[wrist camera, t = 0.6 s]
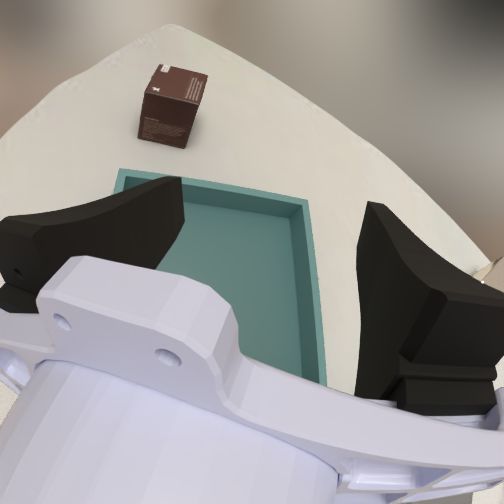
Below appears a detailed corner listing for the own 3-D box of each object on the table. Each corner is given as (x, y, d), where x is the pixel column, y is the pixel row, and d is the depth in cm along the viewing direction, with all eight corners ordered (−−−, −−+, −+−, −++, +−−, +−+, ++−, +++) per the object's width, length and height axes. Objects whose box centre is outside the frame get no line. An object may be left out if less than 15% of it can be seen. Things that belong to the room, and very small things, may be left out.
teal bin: (307, 391, 30) (327, 391, 27) (96, 391, 23) (91, 392, 20) (293, 215, 38) (307, 200, 35) (118, 188, 31) (119, 168, 28)
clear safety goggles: (457, 366, 39) (536, 345, 27) (434, 301, 42) (512, 267, 30) (494, 319, 48) (553, 295, 35) (474, 267, 50) (532, 236, 38)
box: (184, 150, 36) (199, 105, 30) (136, 139, 34) (143, 92, 28) (194, 117, 38) (209, 74, 32) (150, 107, 37) (159, 62, 30)
